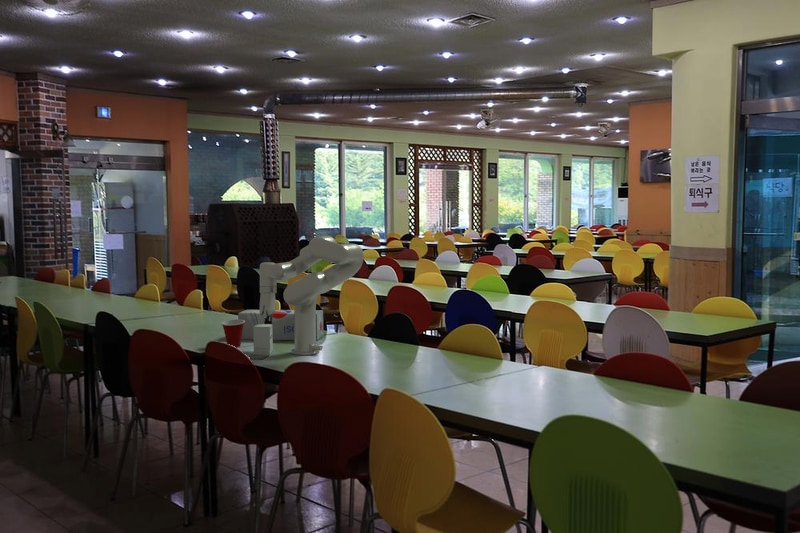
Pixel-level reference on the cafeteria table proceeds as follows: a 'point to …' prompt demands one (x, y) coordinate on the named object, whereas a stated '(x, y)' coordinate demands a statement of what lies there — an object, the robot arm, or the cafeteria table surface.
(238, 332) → the plastic cup
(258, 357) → the mat
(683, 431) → the cafeteria table surface
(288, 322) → the soda pack
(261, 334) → the supplement box
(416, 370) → the cafeteria table surface
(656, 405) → the cafeteria table surface
